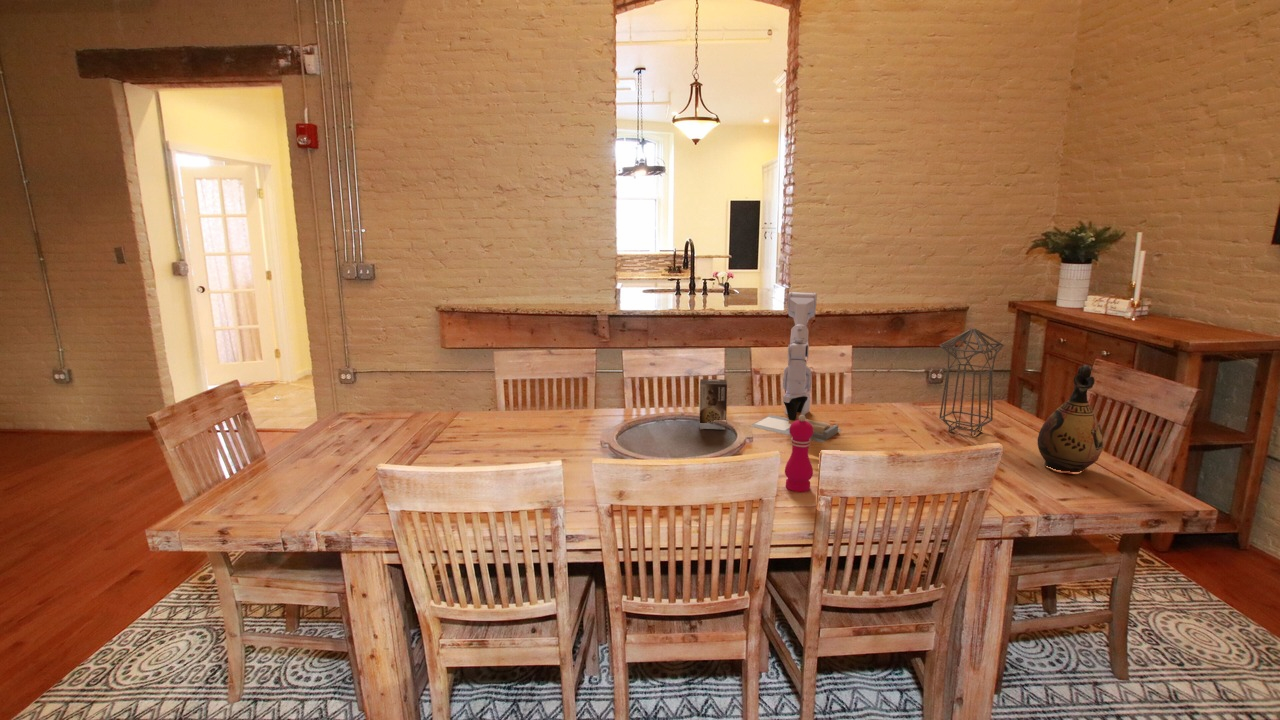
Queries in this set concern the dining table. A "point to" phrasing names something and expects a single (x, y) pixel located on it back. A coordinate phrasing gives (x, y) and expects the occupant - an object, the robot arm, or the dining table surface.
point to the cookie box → (713, 400)
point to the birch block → (813, 424)
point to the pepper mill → (799, 456)
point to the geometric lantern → (963, 337)
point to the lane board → (783, 427)
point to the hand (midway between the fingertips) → (794, 418)
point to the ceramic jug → (1072, 430)
